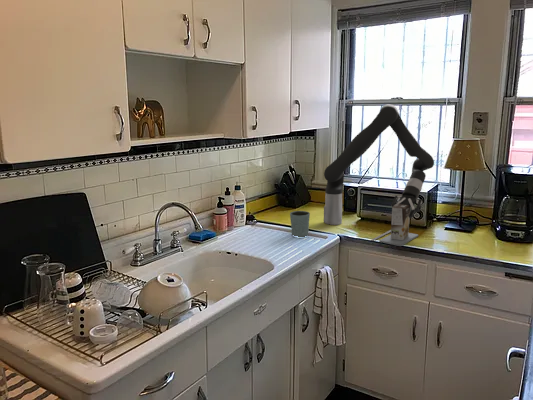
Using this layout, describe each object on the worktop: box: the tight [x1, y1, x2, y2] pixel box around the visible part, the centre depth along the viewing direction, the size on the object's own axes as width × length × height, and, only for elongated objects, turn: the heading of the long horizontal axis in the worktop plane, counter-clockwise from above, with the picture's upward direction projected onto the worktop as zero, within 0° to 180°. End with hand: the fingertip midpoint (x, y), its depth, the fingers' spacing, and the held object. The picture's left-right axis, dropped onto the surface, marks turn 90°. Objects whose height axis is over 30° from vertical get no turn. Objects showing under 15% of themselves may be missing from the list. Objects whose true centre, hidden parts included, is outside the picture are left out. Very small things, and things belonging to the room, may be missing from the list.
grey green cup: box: [289, 210, 311, 237], centre depth 232 cm, size 10×10×12 cm
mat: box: [379, 232, 419, 247], centre depth 224 cm, size 11×20×1 cm, turn 139°
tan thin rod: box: [370, 229, 391, 242], centre depth 230 cm, size 2×22×1 cm, turn 139°
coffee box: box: [390, 204, 411, 240], centre depth 223 cm, size 9×6×16 cm
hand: (401, 216), depth 222 cm, fingers open, 8 cm apart
